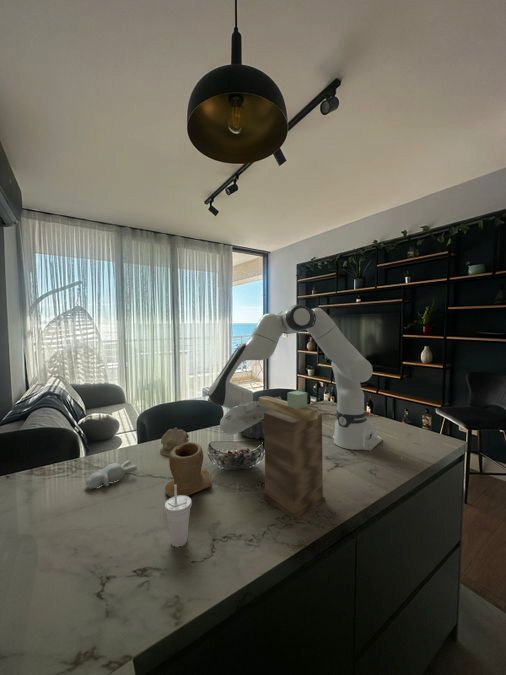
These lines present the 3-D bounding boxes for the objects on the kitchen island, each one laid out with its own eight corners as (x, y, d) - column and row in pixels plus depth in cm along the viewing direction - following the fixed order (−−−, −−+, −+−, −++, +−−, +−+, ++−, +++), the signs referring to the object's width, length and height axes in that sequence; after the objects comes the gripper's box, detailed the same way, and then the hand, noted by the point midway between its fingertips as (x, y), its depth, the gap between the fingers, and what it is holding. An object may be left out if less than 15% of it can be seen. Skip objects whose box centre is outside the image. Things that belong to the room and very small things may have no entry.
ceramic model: (154, 455, 120) (153, 431, 120) (167, 444, 131) (166, 422, 131) (186, 457, 118) (186, 433, 118) (197, 446, 129) (196, 424, 129)
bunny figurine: (82, 472, 99) (127, 453, 109) (85, 486, 99) (129, 466, 110) (91, 483, 92) (137, 461, 102) (93, 498, 93) (140, 475, 103)
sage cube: (297, 403, 88) (297, 390, 88) (307, 406, 85) (307, 392, 85) (287, 406, 86) (287, 392, 86) (297, 409, 83) (297, 395, 82)
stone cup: (173, 508, 85) (172, 457, 84) (161, 489, 95) (160, 443, 94) (220, 491, 93) (219, 444, 93) (205, 475, 103) (204, 433, 103)
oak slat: (266, 403, 99) (266, 395, 99) (317, 418, 82) (317, 409, 82) (258, 404, 97) (258, 397, 97) (308, 421, 80) (308, 412, 80)
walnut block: (293, 483, 97) (292, 405, 96) (325, 501, 87) (324, 414, 86) (263, 497, 89) (261, 412, 88) (293, 519, 79) (292, 423, 78)
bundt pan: (296, 429, 148) (295, 409, 148) (270, 447, 126) (270, 424, 126) (252, 420, 162) (251, 403, 162) (222, 436, 140) (221, 415, 140)
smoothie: (168, 533, 75) (166, 478, 74) (194, 531, 75) (192, 477, 75) (163, 552, 68) (161, 493, 68) (191, 550, 69) (189, 491, 68)
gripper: (220, 410, 101) (239, 397, 91) (266, 400, 113) (287, 387, 103) (225, 429, 98) (245, 417, 88) (271, 416, 111) (294, 405, 101)
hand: (268, 401), depth 96 cm, fingers open, 8 cm apart
